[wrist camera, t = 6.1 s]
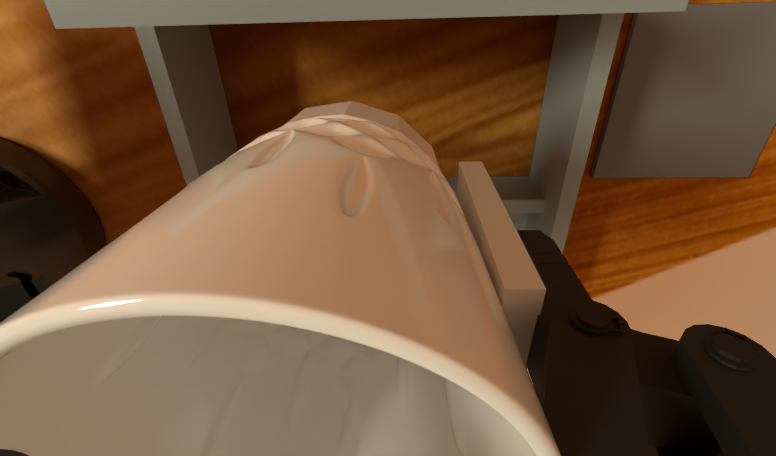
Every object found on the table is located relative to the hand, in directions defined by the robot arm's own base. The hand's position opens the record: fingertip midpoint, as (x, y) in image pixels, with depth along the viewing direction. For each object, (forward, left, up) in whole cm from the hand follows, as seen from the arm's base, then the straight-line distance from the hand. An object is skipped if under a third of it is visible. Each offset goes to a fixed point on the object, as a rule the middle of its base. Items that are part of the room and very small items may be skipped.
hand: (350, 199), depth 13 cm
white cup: (0, 0, -1) cm, 1 cm away
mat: (+21, 0, -15) cm, 26 cm away
